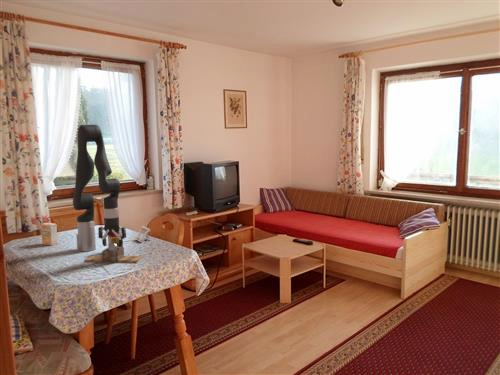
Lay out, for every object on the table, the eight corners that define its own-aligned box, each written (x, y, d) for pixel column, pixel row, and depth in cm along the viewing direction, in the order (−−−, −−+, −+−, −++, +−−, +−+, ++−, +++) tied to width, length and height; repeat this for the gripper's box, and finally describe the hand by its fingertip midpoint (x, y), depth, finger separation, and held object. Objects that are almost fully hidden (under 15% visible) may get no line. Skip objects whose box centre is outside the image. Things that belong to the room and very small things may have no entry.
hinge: (84, 262, 206) (83, 251, 205) (91, 257, 214) (91, 246, 213) (136, 262, 204) (136, 251, 203) (142, 258, 212) (141, 247, 211)
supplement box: (41, 244, 241) (40, 223, 239) (48, 242, 245) (47, 222, 243) (51, 245, 238) (50, 225, 236) (58, 243, 242) (56, 223, 240)
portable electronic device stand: (134, 240, 249) (134, 227, 248) (146, 238, 254) (145, 226, 253) (141, 243, 243) (140, 230, 242) (152, 241, 248) (151, 228, 247)
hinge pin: (108, 261, 207) (107, 244, 206) (111, 258, 211) (110, 242, 210) (115, 261, 207) (114, 244, 206) (118, 259, 211) (118, 242, 210)
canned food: (125, 251, 224) (124, 231, 223) (112, 254, 219) (111, 234, 217) (119, 249, 230) (118, 229, 228) (106, 251, 224) (105, 231, 223)
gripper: (95, 217, 203) (96, 247, 205) (121, 217, 202) (123, 248, 204) (101, 214, 210) (103, 243, 212) (127, 215, 209) (128, 244, 211)
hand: (112, 245), depth 208 cm, fingers open, 8 cm apart
